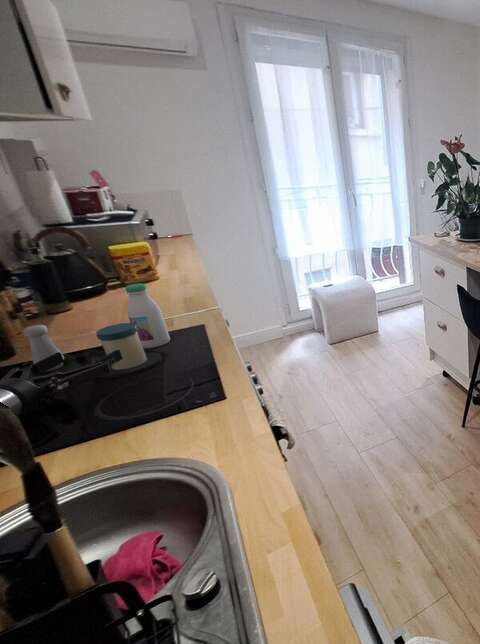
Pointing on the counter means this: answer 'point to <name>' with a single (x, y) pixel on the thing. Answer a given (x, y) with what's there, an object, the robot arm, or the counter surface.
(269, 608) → the counter surface
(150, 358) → the trivet
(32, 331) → the salt shaker
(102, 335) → the lid
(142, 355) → the jar
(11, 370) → the robot arm
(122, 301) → the counter surface
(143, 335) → the milk bottle
